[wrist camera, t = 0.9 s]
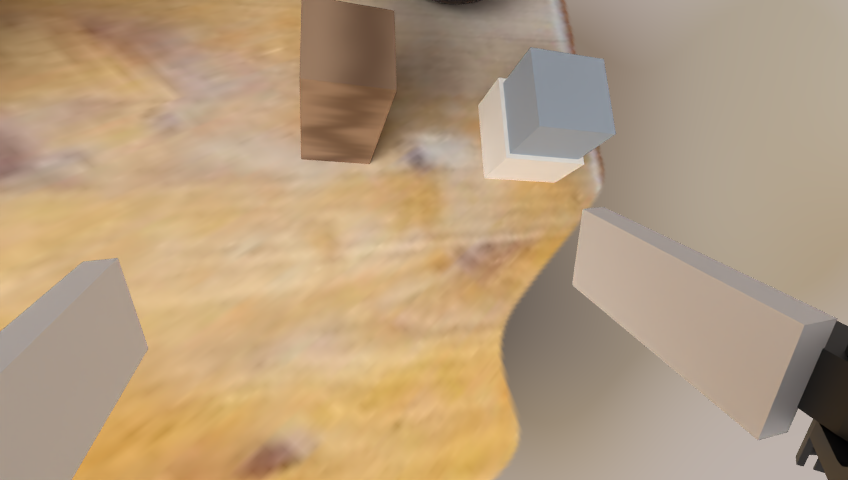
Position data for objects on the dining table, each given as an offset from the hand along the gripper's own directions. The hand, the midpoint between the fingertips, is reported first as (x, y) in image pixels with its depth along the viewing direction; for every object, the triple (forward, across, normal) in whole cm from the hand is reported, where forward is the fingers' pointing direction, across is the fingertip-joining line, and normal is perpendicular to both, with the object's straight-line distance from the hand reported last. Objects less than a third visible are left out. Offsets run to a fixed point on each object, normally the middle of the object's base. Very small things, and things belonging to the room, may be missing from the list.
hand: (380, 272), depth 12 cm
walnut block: (+29, 0, 0) cm, 29 cm away
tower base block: (+29, +18, -2) cm, 34 cm away
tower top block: (+25, +19, +1) cm, 31 cm away
